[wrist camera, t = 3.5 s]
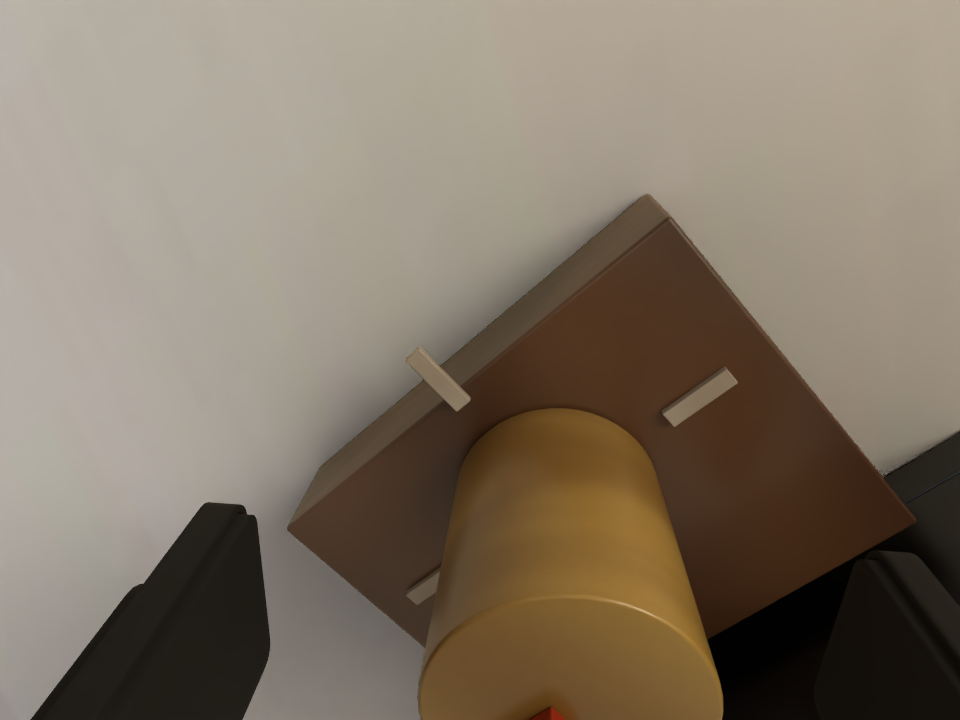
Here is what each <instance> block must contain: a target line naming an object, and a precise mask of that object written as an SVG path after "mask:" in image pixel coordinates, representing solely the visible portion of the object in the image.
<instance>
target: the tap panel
mask: <svg viewBox="0 0 960 720" xmlns="http://www.w3.org/2000/svg"><path fill="white" fill-rule="evenodd" d="M405 361H406V362H407V363H408V364H409V365H410V366H411V367H412V368H413V369H414V370H415V371H416V372H417V373H418V374H419V375H420V376H421V377H422V378H423V379H424V380H423V381H422V382H421V383H420V384H419V385H417V386H416V387H415V388H414V389H413V390H411V391H410V392H409V393H408V394H407V395H405V396H404V397H403V398H402V399H401V400H400V401H398V402H397V403H396V404H395V405H394V406H392V407H391V408H390V409H389V410H388V411H386V412H385V413H384V414H383V415H382V416H380V417H379V418H378V419H377V420H376V421H374V422H373V423H372V424H371V425H370V426H369V427H367V428H366V429H365V430H364V431H363V432H361V433H360V434H359V435H358V436H357V437H355V438H354V439H353V440H352V441H351V442H349V443H348V444H347V445H346V446H345V447H343V448H342V449H341V450H340V451H339V452H338V453H336V454H335V455H334V456H333V457H332V458H330V459H329V460H328V461H327V462H326V463H324V464H323V465H322V466H321V467H320V468H319V470H318V472H317V474H316V476H315V477H314V479H313V481H312V483H311V485H310V487H309V488H308V490H307V492H306V494H305V496H304V497H303V499H302V501H301V503H300V505H299V507H298V508H297V510H296V512H295V514H294V516H293V518H292V519H291V521H290V523H289V525H288V527H287V530H288V531H289V532H290V533H291V534H292V535H293V536H294V537H296V538H297V539H298V540H299V541H300V542H302V543H303V544H304V545H305V546H306V547H307V548H309V549H310V550H311V551H312V552H313V553H314V554H316V555H317V556H318V557H319V558H320V559H321V560H323V561H324V562H325V563H326V564H327V565H328V566H330V567H331V568H332V569H333V570H334V571H336V572H337V573H338V574H339V575H340V576H341V577H343V578H344V579H345V580H346V581H347V582H348V583H350V584H351V585H352V586H353V587H354V588H355V589H357V590H358V591H359V592H360V593H361V594H362V595H364V596H365V597H366V598H367V599H368V600H369V601H371V602H372V603H373V604H374V605H375V606H377V607H378V608H379V609H380V610H381V611H382V612H384V613H385V614H386V615H387V616H388V617H389V618H391V619H392V620H393V621H394V622H395V623H396V624H398V625H399V626H400V627H401V628H402V629H403V630H405V631H406V632H407V633H408V634H409V635H410V636H412V637H413V638H414V639H415V640H416V641H418V642H419V643H420V644H421V645H422V646H423V647H426V642H427V637H428V632H429V626H430V621H431V616H432V611H433V605H434V600H435V595H436V590H437V584H438V579H439V574H440V569H441V563H442V558H443V553H444V548H445V542H446V537H447V532H448V527H449V521H450V516H451V511H452V506H453V500H454V495H455V490H456V484H457V479H458V476H459V472H460V468H461V466H462V464H463V462H464V459H465V457H466V456H467V454H468V453H469V451H470V449H471V448H472V447H473V446H474V444H475V443H476V442H477V441H478V440H479V439H480V438H481V437H482V436H483V435H484V434H485V433H486V432H488V431H489V430H490V429H492V428H493V427H495V426H496V425H498V424H499V423H501V422H503V421H505V420H507V419H509V418H511V417H513V416H516V415H519V414H522V413H525V412H529V411H534V410H538V409H548V408H567V409H574V410H581V411H585V412H589V413H592V414H595V415H598V416H600V417H603V418H605V419H607V420H609V421H611V422H613V423H615V424H617V425H618V426H620V427H621V428H623V429H624V430H625V431H627V432H628V433H629V434H630V435H631V436H632V437H633V438H635V439H636V440H637V441H638V443H639V444H640V445H641V446H642V447H643V449H644V450H645V451H646V453H647V455H648V456H649V458H650V460H651V462H652V464H653V467H654V469H655V472H656V475H657V478H658V481H659V485H660V488H661V491H662V494H663V498H664V501H665V504H666V507H667V511H668V514H669V517H670V520H671V524H672V527H673V530H674V533H675V537H676V540H677V543H678V546H679V550H680V553H681V556H682V560H683V563H684V566H685V569H686V573H687V576H688V579H689V582H690V586H691V589H692V592H693V595H694V599H695V602H696V605H697V608H698V612H699V615H700V618H701V621H702V625H703V628H704V631H705V635H706V638H707V640H708V639H710V638H711V637H713V636H715V635H717V634H719V633H720V632H722V631H724V630H726V629H727V628H729V627H731V626H733V625H735V624H736V623H738V622H740V621H742V620H744V619H745V618H747V617H749V616H751V615H752V614H754V613H756V612H758V611H760V610H761V609H763V608H765V607H767V606H768V605H770V604H772V603H774V602H776V601H777V600H779V599H781V598H783V597H785V596H786V595H788V594H790V593H792V592H793V591H795V590H797V589H799V588H801V587H802V586H804V585H806V584H808V583H809V582H811V581H813V580H815V579H817V578H818V577H820V576H822V575H824V574H826V573H827V572H829V571H831V570H833V569H834V568H836V567H838V566H840V565H842V564H843V563H845V562H847V561H849V560H850V559H852V558H854V557H856V556H858V555H859V554H861V553H863V552H865V551H867V550H868V549H870V548H872V547H874V546H875V545H877V544H879V543H881V542H883V541H884V540H886V539H888V538H890V537H891V536H893V535H895V534H897V533H899V532H900V531H902V530H904V529H906V528H907V527H909V526H911V525H913V524H915V523H916V518H915V516H914V515H913V514H912V513H911V511H910V510H909V509H908V508H907V506H906V505H905V504H904V503H903V501H902V500H901V499H900V498H899V497H898V495H897V494H896V493H895V492H894V490H893V489H892V488H891V487H890V485H889V484H888V483H887V482H886V481H885V479H884V478H883V477H882V476H881V474H880V473H879V472H878V471H877V469H876V468H875V467H874V466H873V465H872V463H871V462H870V461H869V460H868V458H867V457H866V456H865V455H864V453H863V452H862V451H861V450H860V448H859V447H858V446H857V445H856V444H855V442H854V441H853V440H852V439H851V437H850V436H849V435H848V434H847V432H846V431H845V430H844V429H843V428H842V426H841V425H840V424H839V423H838V421H837V420H836V419H835V418H834V416H833V415H832V414H831V413H830V412H829V410H828V409H827V408H826V407H825V405H824V404H823V403H822V402H821V400H820V399H819V398H818V397H817V395H816V394H815V393H814V392H813V391H812V389H811V388H810V387H809V386H808V384H807V383H806V382H805V381H804V379H803V378H802V377H801V376H800V375H799V373H798V372H797V371H796V370H795V368H794V367H793V366H792V365H791V363H790V362H789V361H788V360H787V359H786V357H785V356H784V355H783V354H782V352H781V351H780V350H779V349H778V347H777V346H776V345H775V344H774V342H773V341H772V340H771V339H770V338H769V336H768V335H767V334H766V333H765V331H764V330H763V329H762V328H761V326H760V325H759V324H758V323H757V322H756V320H755V319H754V318H753V317H752V315H751V314H750V313H749V312H748V310H747V309H746V308H745V307H744V306H743V304H742V303H741V302H740V301H739V299H738V298H737V297H736V296H735V294H734V293H733V292H732V291H731V289H730V288H729V287H728V286H727V285H726V283H725V282H724V281H723V280H722V278H721V277H720V276H719V275H718V273H717V272H716V271H715V270H714V269H713V267H712V266H711V265H710V264H709V262H708V261H707V260H706V259H705V257H704V256H703V255H702V254H701V253H700V251H699V250H698V249H697V248H696V246H695V245H694V244H693V243H692V241H691V240H690V239H689V238H688V236H687V235H686V234H685V233H684V232H683V230H682V229H681V228H680V227H679V225H678V224H677V223H676V222H675V220H674V219H673V218H672V217H671V216H670V215H669V214H668V213H667V212H666V211H665V210H664V209H663V208H662V207H661V206H660V205H659V204H658V203H657V202H656V201H655V200H654V198H653V197H652V196H651V195H649V194H646V195H644V196H643V197H641V198H640V199H639V200H638V201H637V202H636V203H634V204H633V205H632V206H631V207H630V208H628V209H627V210H626V211H625V212H624V213H622V214H621V215H620V216H619V217H618V218H616V219H615V220H614V221H613V222H612V223H610V224H609V225H608V226H607V227H606V228H605V229H603V230H602V231H601V232H600V233H599V234H597V235H596V236H595V237H594V238H593V239H591V240H590V241H589V242H588V243H587V244H585V245H584V246H583V247H582V248H581V249H579V250H578V251H577V252H576V253H575V254H574V255H572V256H571V257H570V258H569V259H568V260H566V261H565V262H564V263H563V264H562V265H560V266H559V267H558V268H557V269H556V270H554V271H553V272H552V273H551V274H550V275H549V276H547V277H546V278H545V279H544V280H543V281H541V282H540V283H539V284H538V285H537V286H535V287H534V288H533V289H532V290H531V291H529V292H528V293H527V294H526V295H525V296H523V297H522V298H521V299H520V300H519V301H518V302H516V303H515V304H514V305H513V306H512V307H510V308H509V309H508V310H507V311H506V312H504V313H503V314H502V315H501V316H500V317H498V318H497V319H496V320H495V321H494V322H492V323H491V324H490V325H489V326H488V327H487V328H485V329H484V330H483V331H482V332H481V333H479V334H478V335H477V336H476V337H475V338H473V339H472V340H471V341H470V342H469V343H467V344H466V345H465V346H464V347H463V348H461V349H460V350H459V351H458V352H457V353H456V354H454V355H453V356H452V357H451V358H450V359H448V360H447V361H446V362H445V363H444V364H442V365H441V366H439V365H438V364H437V363H436V362H435V361H434V360H433V359H432V358H431V357H430V356H429V355H428V354H427V353H426V352H425V351H424V350H423V349H422V348H421V347H420V346H419V347H418V348H417V349H416V350H414V351H413V352H412V353H411V354H410V355H409V356H408V357H407V358H406V360H405Z"/></svg>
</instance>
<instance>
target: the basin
mask: <svg viewBox="0 0 960 720" xmlns="http://www.w3.org/2000/svg"><path fill="white" fill-rule="evenodd" d="M884 479H885V481H886V482H887V483H888V484H889V485H890V487H891V488H892V489H893V490H894V492H895V493H896V494H897V495H898V497H899V498H900V499H901V500H902V501H903V503H904V504H905V505H906V506H907V508H908V509H909V510H910V511H911V513H912V514H913V515H914V516H915V518H916V523H915V524H913V525H911V526H909V527H907V528H906V529H904V530H902V531H900V532H899V533H897V534H895V535H893V536H891V537H890V538H888V539H886V540H884V541H883V542H881V543H879V544H877V545H875V546H874V547H872V548H870V549H868V550H867V551H865V552H863V553H861V554H859V555H858V556H856V557H854V558H852V559H850V560H849V561H847V562H845V563H843V564H842V565H840V566H838V567H836V568H834V569H833V570H831V571H829V572H827V573H826V574H824V575H822V576H820V577H818V578H817V579H815V580H813V581H811V582H809V583H808V584H806V585H804V586H802V587H801V588H799V589H797V590H795V591H793V592H792V593H790V594H788V595H786V596H785V597H783V598H781V599H779V600H777V601H776V602H774V603H772V604H770V605H768V606H767V607H765V608H763V609H761V610H760V611H758V612H756V613H754V614H752V615H751V616H749V617H747V618H745V619H744V620H742V621H740V622H738V623H736V624H735V625H733V626H731V627H729V628H727V629H726V630H724V631H722V632H720V633H719V634H717V635H715V636H713V637H711V638H710V639H708V640H707V641H708V644H709V648H710V651H711V654H712V657H713V661H714V664H715V667H716V670H717V674H718V677H719V680H720V684H721V689H722V694H723V717H722V720H821V718H820V716H819V714H818V711H817V708H816V705H815V700H814V686H815V682H816V679H817V676H818V673H819V670H820V667H821V664H822V660H823V657H824V654H825V651H826V648H827V645H828V642H829V639H830V636H831V633H832V630H833V627H834V624H835V621H836V618H837V615H838V612H839V609H840V606H841V603H842V600H843V597H844V593H845V590H846V587H847V584H848V581H849V578H850V575H851V572H852V569H853V566H854V564H855V562H856V561H857V560H859V559H865V557H866V555H867V554H868V553H869V552H870V551H874V550H878V551H892V552H905V553H912V554H915V555H917V556H918V557H919V558H920V559H921V560H922V561H923V563H924V564H925V565H926V566H927V567H928V569H929V570H930V571H931V572H932V574H933V575H934V576H935V577H936V579H937V580H938V581H939V582H940V583H941V585H942V586H943V587H944V588H945V590H946V591H947V592H948V593H949V595H950V596H951V597H952V598H953V599H954V601H955V602H956V603H957V604H958V606H959V607H960V433H959V434H958V435H956V436H954V437H953V438H951V439H949V440H948V441H946V442H944V443H943V444H941V445H939V446H937V447H936V448H934V449H932V450H931V451H929V452H927V453H926V454H924V455H922V456H921V457H919V458H917V459H916V460H914V461H912V462H910V463H909V464H907V465H905V466H904V467H902V468H900V469H899V470H897V471H895V472H894V473H892V474H890V475H889V476H887V477H885V478H884Z"/></svg>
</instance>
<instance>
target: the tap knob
mask: <svg viewBox="0 0 960 720" xmlns="http://www.w3.org/2000/svg"><path fill="white" fill-rule="evenodd" d="M417 698H418V710H419V715H420V718H421V720H722V717H723V694H722V689H721V684H720V680H719V677H718V674H717V670H716V667H715V664H714V661H713V657H712V654H711V651H710V648H709V644H708V641H707V638H706V635H705V631H704V628H703V625H702V621H701V618H700V615H699V612H698V608H697V605H696V602H695V599H694V595H693V592H692V589H691V586H690V582H689V579H688V576H687V573H686V569H685V566H684V563H683V560H682V556H681V553H680V550H679V546H678V543H677V540H676V537H675V533H674V530H673V527H672V524H671V520H670V517H669V514H668V511H667V507H666V504H665V501H664V498H663V494H662V491H661V488H660V485H659V481H658V478H657V475H656V472H655V469H654V467H653V464H652V462H651V460H650V458H649V456H648V455H647V453H646V451H645V450H644V449H643V447H642V446H641V445H640V444H639V443H638V441H637V440H636V439H635V438H633V437H632V436H631V435H630V434H629V433H628V432H627V431H625V430H624V429H623V428H621V427H620V426H618V425H617V424H615V423H613V422H611V421H609V420H607V419H605V418H603V417H600V416H598V415H595V414H592V413H589V412H585V411H581V410H574V409H567V408H548V409H538V410H534V411H529V412H525V413H522V414H519V415H516V416H513V417H511V418H509V419H507V420H505V421H503V422H501V423H499V424H498V425H496V426H495V427H493V428H492V429H490V430H489V431H488V432H486V433H485V434H484V435H483V436H482V437H481V438H480V439H479V440H478V441H477V442H476V443H475V444H474V446H473V447H472V448H471V449H470V451H469V453H468V454H467V456H466V457H465V459H464V462H463V464H462V466H461V468H460V472H459V476H458V479H457V484H456V490H455V495H454V500H453V506H452V511H451V516H450V521H449V527H448V532H447V537H446V542H445V548H444V553H443V558H442V563H441V569H440V574H439V579H438V584H437V590H436V595H435V600H434V605H433V611H432V616H431V621H430V626H429V632H428V637H427V642H426V647H425V653H424V658H423V663H422V668H421V674H420V679H419V686H418V696H417Z"/></svg>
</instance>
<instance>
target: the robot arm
mask: <svg viewBox="0 0 960 720" xmlns="http://www.w3.org/2000/svg"><path fill="white" fill-rule="evenodd" d="M269 651H270V634H269V625H268V616H267V607H266V598H265V589H264V580H263V571H262V562H261V553H260V544H259V535H258V526H257V520H256V517H255V516H254V515H247V513H246V509H245V507H244V506H242V505H238V504H224V503H210V502H208V503H205V504H204V505H203V506H202V507H201V508H200V509H199V510H198V512H197V513H196V514H195V516H194V517H193V518H192V520H191V521H190V522H189V524H188V525H187V526H186V528H185V529H184V530H183V532H182V533H181V534H180V536H179V537H178V538H177V540H176V541H175V542H174V544H173V545H172V546H171V548H170V549H169V550H168V552H167V553H166V554H165V556H164V557H163V558H162V560H161V561H160V562H159V564H158V565H157V566H156V568H155V569H154V571H153V572H152V573H151V575H150V576H149V577H148V579H147V580H146V581H145V583H144V584H139V585H137V586H135V587H133V588H132V589H131V590H130V591H129V592H128V593H127V595H126V596H125V597H124V598H123V600H122V601H121V602H120V603H119V605H118V606H117V607H116V609H115V610H114V611H113V613H112V614H111V615H110V617H109V618H108V619H107V620H106V622H105V623H104V624H103V626H102V627H101V628H100V630H99V631H98V632H97V634H96V635H95V636H94V637H93V639H92V640H91V641H90V643H89V644H88V645H87V647H86V648H85V649H84V651H83V652H82V653H81V654H80V656H79V657H78V658H77V660H76V661H75V662H74V664H73V665H72V666H71V668H70V669H69V670H68V671H67V673H66V674H65V675H64V677H63V678H62V679H61V681H60V682H59V683H58V685H57V686H56V687H55V688H54V690H53V691H52V692H51V694H50V695H49V696H48V698H47V699H46V700H45V702H44V703H43V704H42V705H41V707H40V708H39V709H38V711H37V712H36V713H35V715H34V716H33V717H32V719H31V720H242V719H243V717H244V715H245V712H246V710H247V708H248V706H249V703H250V701H251V699H252V696H253V694H254V692H255V690H256V687H257V685H258V683H259V680H260V678H261V676H262V674H263V671H264V669H265V667H266V664H267V661H268V657H269ZM814 700H815V705H816V708H817V711H818V714H819V716H820V718H821V720H960V607H959V606H958V604H957V603H956V602H955V601H954V599H953V598H952V597H951V596H950V595H949V593H948V592H947V591H946V590H945V588H944V587H943V586H942V585H941V583H940V582H939V581H938V580H937V579H936V577H935V576H934V575H933V574H932V572H931V571H930V570H929V569H928V567H927V566H926V565H925V564H924V563H923V561H922V560H921V559H920V558H919V557H918V556H917V555H915V554H912V553H905V552H892V551H878V550H874V551H870V552H869V553H868V554H867V555H866V557H865V559H859V560H857V561H856V562H855V564H854V566H853V569H852V572H851V575H850V578H849V581H848V584H847V587H846V590H845V593H844V597H843V600H842V603H841V606H840V609H839V612H838V615H837V618H836V621H835V624H834V627H833V630H832V633H831V636H830V639H829V642H828V645H827V648H826V651H825V654H824V657H823V660H822V664H821V667H820V670H819V673H818V676H817V679H816V682H815V686H814Z"/></svg>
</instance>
